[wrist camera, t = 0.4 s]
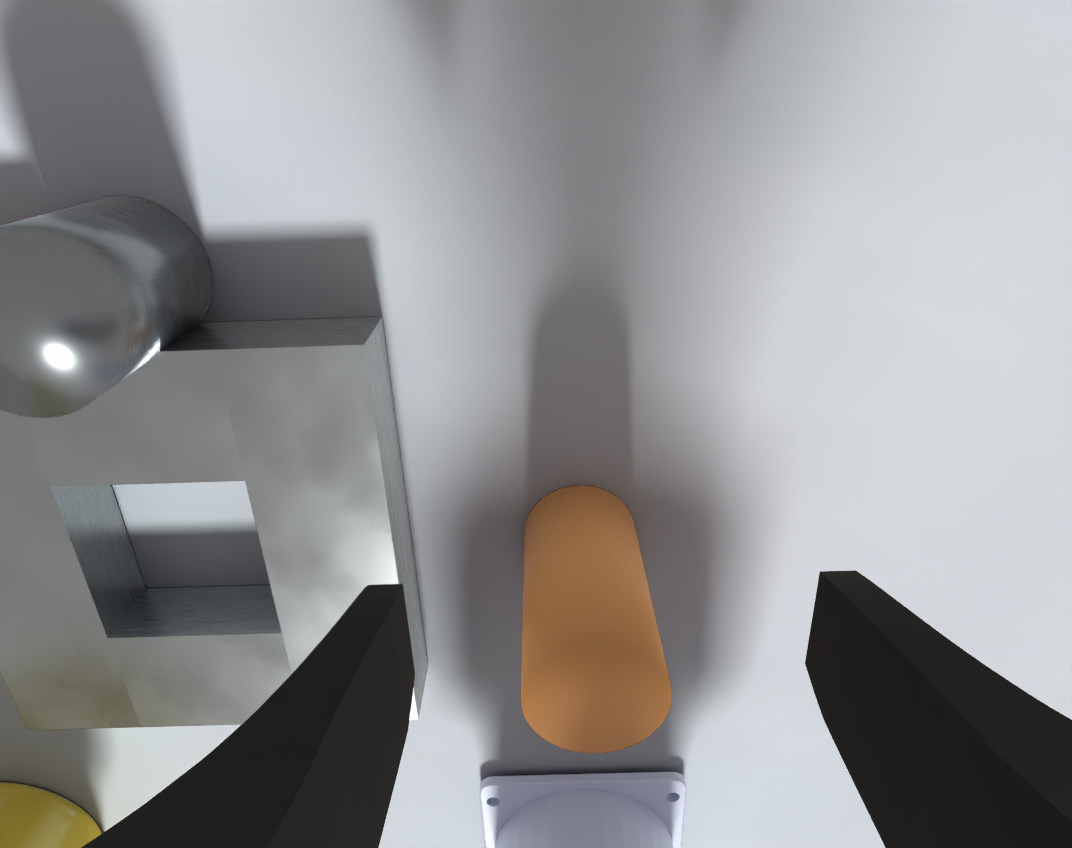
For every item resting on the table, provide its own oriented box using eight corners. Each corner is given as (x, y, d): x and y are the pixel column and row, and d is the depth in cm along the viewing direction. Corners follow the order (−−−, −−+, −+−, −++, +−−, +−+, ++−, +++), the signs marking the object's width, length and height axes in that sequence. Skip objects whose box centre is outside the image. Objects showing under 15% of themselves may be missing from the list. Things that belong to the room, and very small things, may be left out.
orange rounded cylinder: (633, 576, 24) (668, 751, 18) (526, 579, 24) (523, 755, 18) (636, 483, 23) (676, 639, 16) (522, 487, 23) (517, 644, 16)
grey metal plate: (427, 666, 26) (404, 795, 21) (-135, 681, 26) (-283, 813, 21) (365, 186, 19) (308, 221, 14) (-408, 214, 19) (-719, 258, 14)
